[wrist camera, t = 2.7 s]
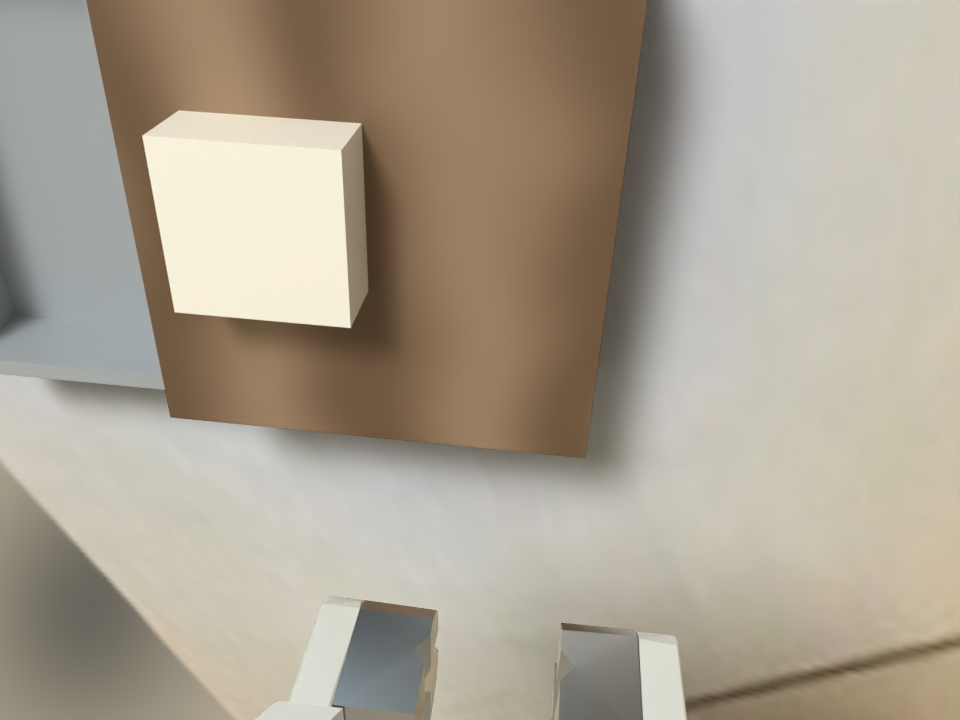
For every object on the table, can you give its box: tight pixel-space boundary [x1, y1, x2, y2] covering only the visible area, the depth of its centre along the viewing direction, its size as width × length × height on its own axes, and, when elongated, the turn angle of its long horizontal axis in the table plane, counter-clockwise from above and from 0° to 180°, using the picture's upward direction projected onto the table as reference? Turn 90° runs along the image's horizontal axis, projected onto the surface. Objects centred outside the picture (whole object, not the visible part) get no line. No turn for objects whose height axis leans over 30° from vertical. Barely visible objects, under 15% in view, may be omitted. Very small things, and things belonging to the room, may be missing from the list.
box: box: [0, 0, 165, 390], centre depth 27 cm, size 8×16×4 cm, turn 178°
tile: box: [142, 110, 368, 328], centre depth 23 cm, size 5×5×2 cm
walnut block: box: [86, 0, 647, 458], centre depth 26 cm, size 14×16×5 cm
